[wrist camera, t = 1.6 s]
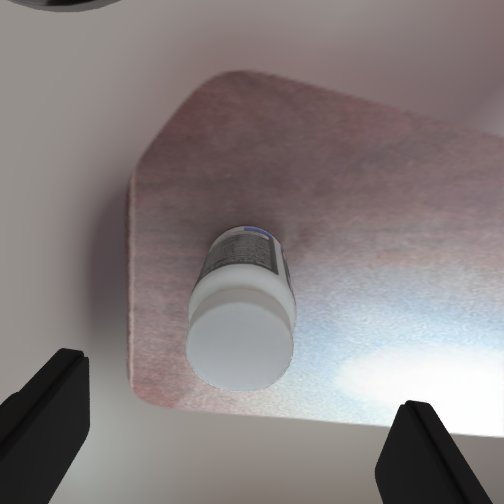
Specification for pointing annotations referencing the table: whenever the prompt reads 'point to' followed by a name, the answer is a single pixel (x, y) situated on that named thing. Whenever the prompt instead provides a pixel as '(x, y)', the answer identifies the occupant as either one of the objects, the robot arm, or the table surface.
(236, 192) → the table surface
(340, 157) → the table surface
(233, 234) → the pill bottle
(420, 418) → the robot arm
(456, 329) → the table surface
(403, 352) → the table surface
